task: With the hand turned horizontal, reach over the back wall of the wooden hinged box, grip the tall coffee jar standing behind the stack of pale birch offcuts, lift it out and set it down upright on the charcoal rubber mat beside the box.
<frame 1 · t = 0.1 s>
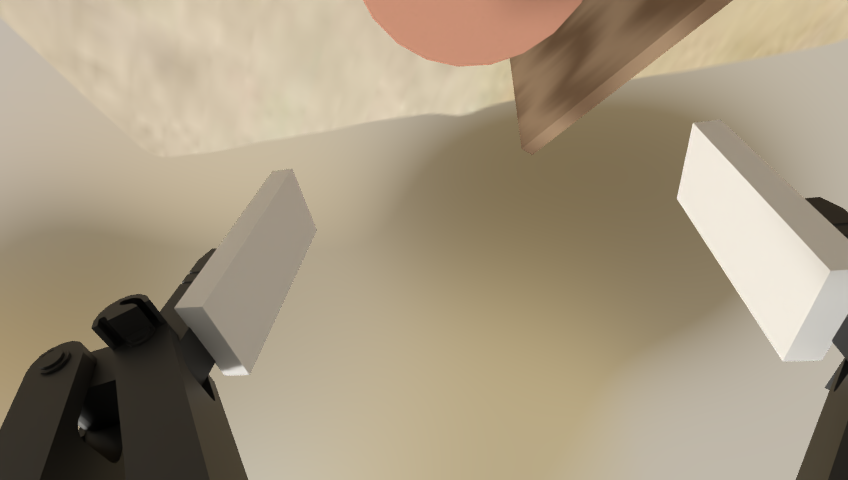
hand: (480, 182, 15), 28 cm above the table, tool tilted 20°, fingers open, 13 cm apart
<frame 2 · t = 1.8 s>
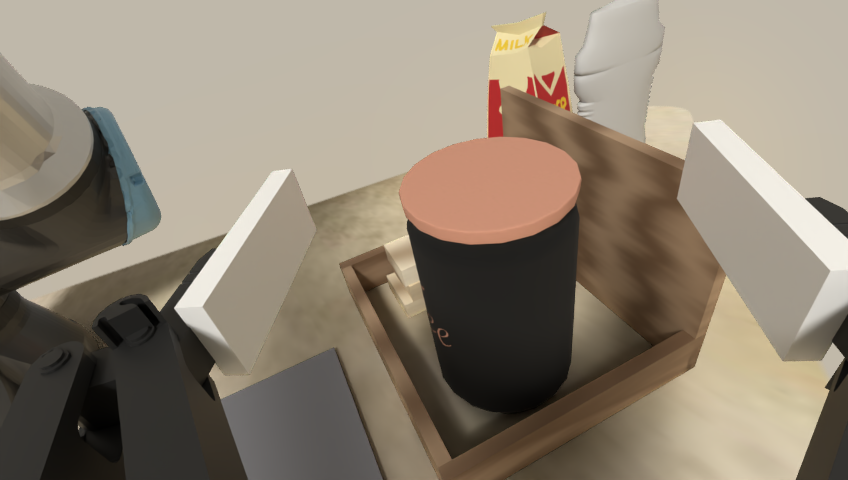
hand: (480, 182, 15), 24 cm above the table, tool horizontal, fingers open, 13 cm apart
coffee jar: (503, 362, 37), resting in wooden hinged box
charcoal mat: (273, 454, 34), on the table
wooden hinged box: (493, 322, 40), on the table
offcut stack: (455, 278, 46), resting in wooden hinged box
milk carton: (529, 173, 60), on the table
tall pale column: (604, 207, 51), on the table
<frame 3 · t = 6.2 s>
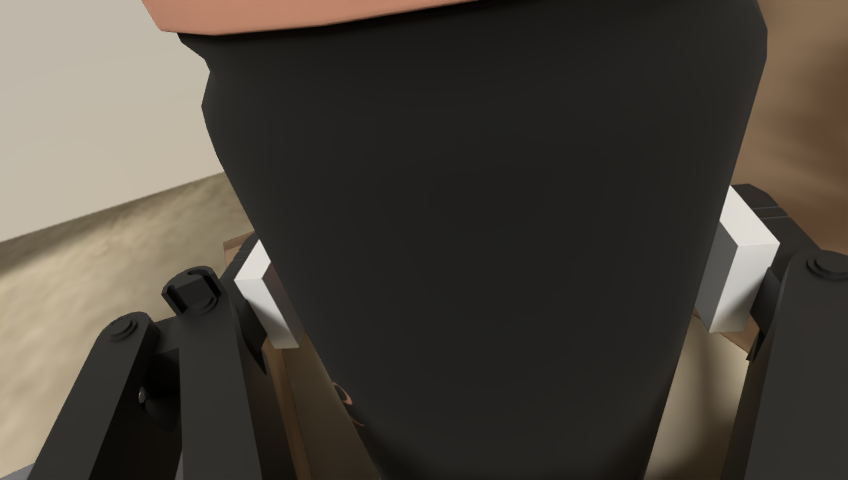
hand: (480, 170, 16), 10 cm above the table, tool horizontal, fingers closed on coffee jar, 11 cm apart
coffee jar: (503, 429, 19), resting in wooden hinged box, touching gripper
wooden hinged box: (484, 345, 22), on the table
when the fingers open (12 cm above the table, at t = 11.9 s): coffee jar drops 1 cm, resting on charcoal mat.
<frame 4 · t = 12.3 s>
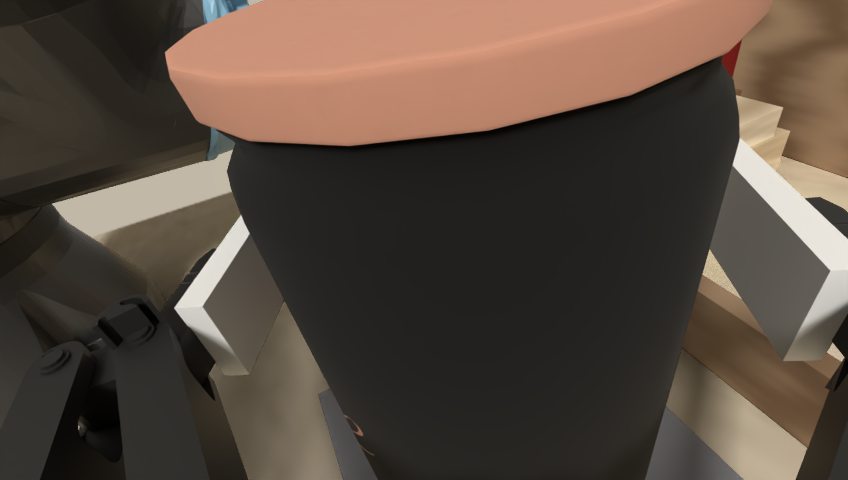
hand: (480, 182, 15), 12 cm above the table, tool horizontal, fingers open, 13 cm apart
coffee jar: (505, 448, 19), resting on charcoal mat
charcoal mat: (505, 449, 20), on the table
wooden hinged box: (786, 247, 26), on the table
offcut stack: (674, 199, 32), resting in wooden hinged box
milk carton: (707, 85, 46), on the table
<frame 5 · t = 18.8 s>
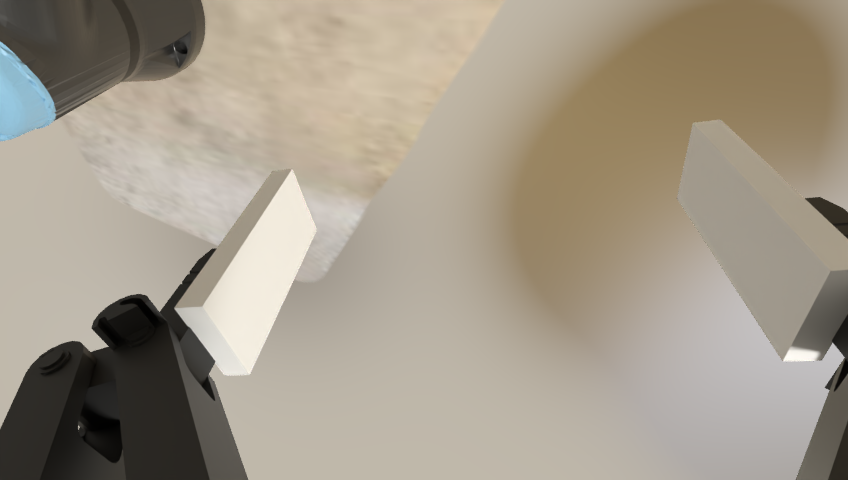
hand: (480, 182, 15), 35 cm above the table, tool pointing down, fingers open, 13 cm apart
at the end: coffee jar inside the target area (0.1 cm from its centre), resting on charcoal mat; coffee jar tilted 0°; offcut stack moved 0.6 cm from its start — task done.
